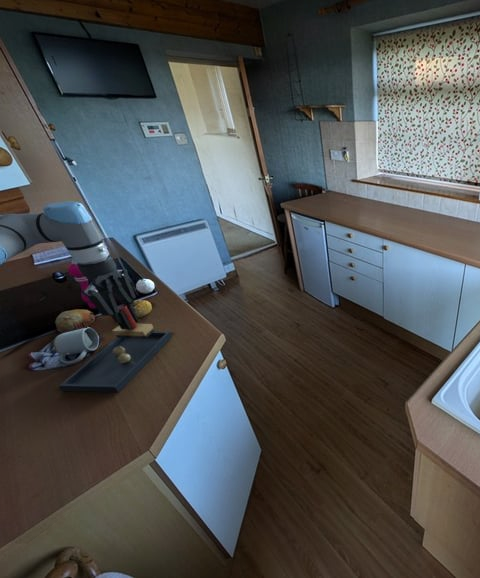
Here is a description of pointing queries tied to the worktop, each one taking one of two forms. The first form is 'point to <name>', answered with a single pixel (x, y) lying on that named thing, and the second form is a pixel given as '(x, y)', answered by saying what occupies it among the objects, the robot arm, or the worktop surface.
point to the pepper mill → (80, 281)
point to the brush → (132, 327)
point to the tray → (115, 365)
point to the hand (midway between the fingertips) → (130, 324)
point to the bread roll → (74, 320)
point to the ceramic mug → (76, 343)
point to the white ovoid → (145, 285)
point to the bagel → (142, 308)
